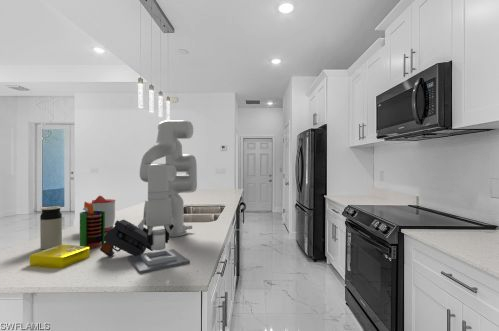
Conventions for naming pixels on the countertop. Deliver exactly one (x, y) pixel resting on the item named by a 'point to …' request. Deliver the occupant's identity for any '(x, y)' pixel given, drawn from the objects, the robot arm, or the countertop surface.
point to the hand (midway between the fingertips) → (158, 243)
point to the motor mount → (157, 260)
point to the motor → (92, 227)
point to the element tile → (59, 256)
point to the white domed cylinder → (158, 239)
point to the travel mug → (50, 227)
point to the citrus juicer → (106, 206)
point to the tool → (125, 239)
